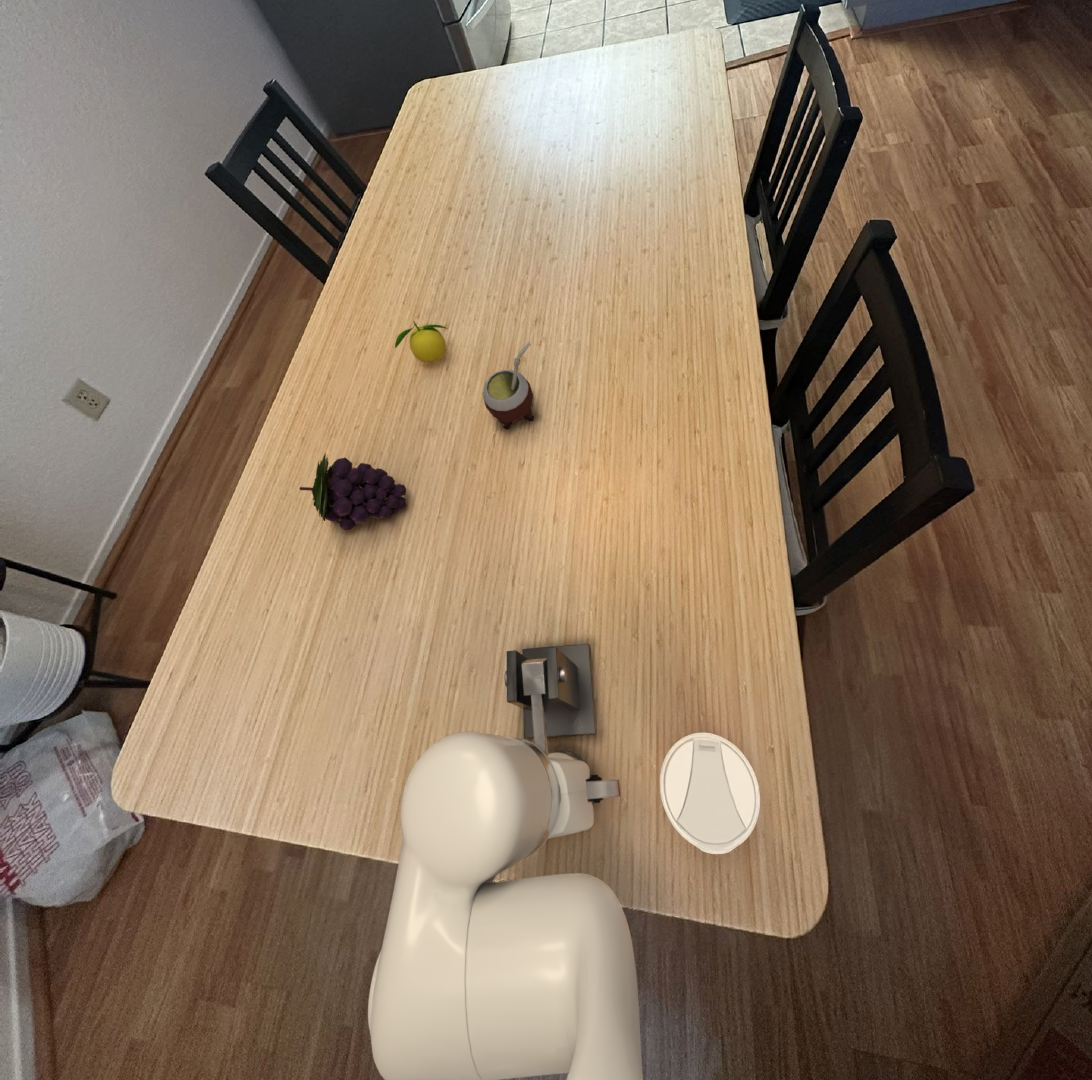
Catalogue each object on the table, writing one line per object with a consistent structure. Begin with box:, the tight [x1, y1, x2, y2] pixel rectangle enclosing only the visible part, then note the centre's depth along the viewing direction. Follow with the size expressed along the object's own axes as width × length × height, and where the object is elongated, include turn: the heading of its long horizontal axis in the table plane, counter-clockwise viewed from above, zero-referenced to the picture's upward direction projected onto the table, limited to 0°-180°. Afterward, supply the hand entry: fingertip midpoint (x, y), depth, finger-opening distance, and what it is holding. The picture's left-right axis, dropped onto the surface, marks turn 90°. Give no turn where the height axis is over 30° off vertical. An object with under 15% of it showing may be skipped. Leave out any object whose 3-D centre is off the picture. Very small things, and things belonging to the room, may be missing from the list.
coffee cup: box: [659, 732, 761, 855], centre depth 57 cm, size 8×8×15 cm
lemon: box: [394, 320, 449, 364], centre depth 97 cm, size 7×6×10 cm
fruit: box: [299, 452, 407, 532], centre depth 85 cm, size 10×11×15 cm
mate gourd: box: [482, 341, 535, 431], centre depth 86 cm, size 8×8×15 cm
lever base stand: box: [503, 643, 598, 740], centre depth 65 cm, size 9×8×15 cm
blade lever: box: [521, 658, 549, 757], centre depth 58 cm, size 12×5×2 cm, turn 1°
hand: (551, 789), depth 60 cm, fingers closed on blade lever, 5 cm apart
